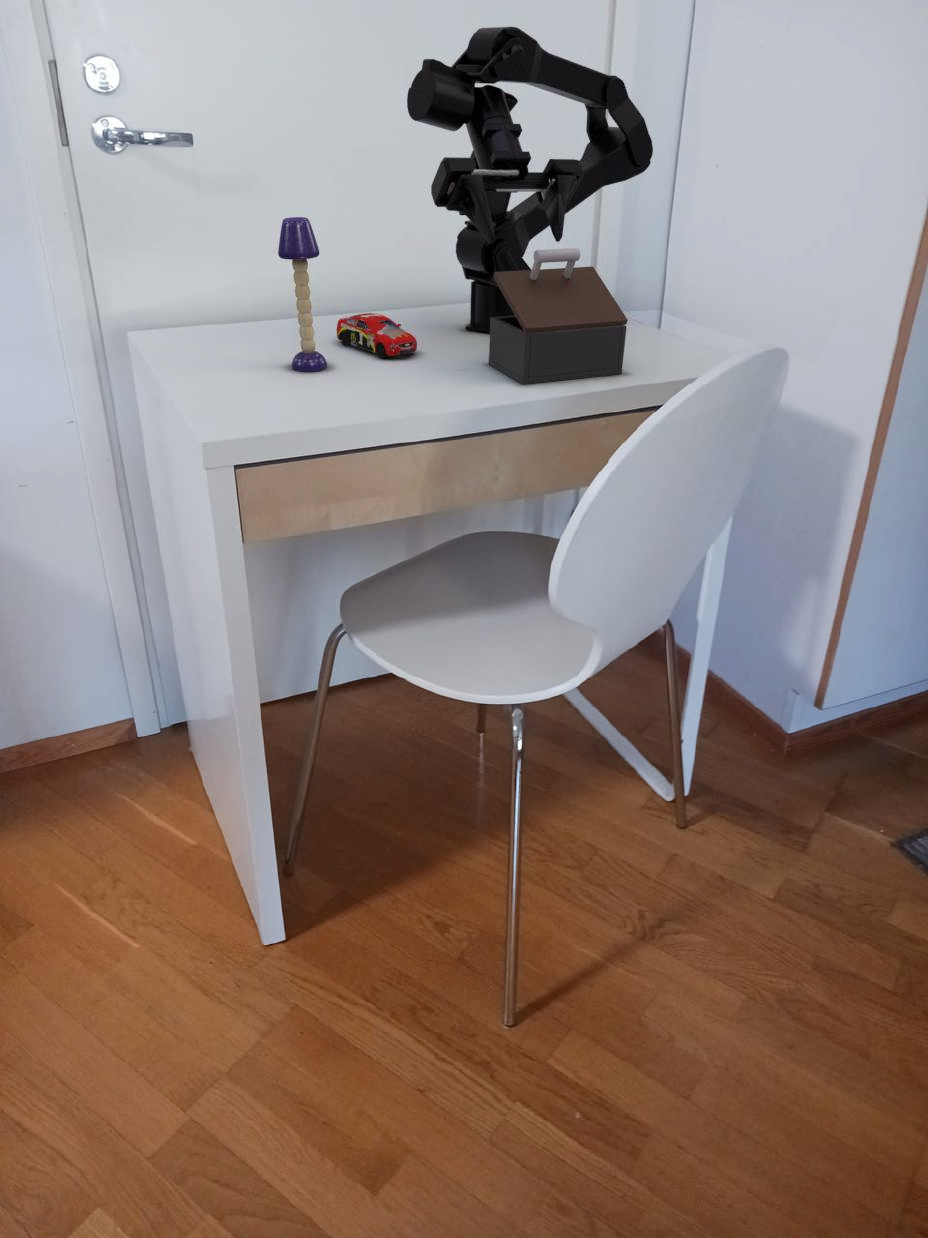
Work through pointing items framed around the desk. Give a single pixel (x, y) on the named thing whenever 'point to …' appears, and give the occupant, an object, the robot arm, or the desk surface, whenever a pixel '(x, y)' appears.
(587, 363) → the dark grey box
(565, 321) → the lid
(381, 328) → the race car
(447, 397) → the desk surface
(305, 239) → the toy lamp
